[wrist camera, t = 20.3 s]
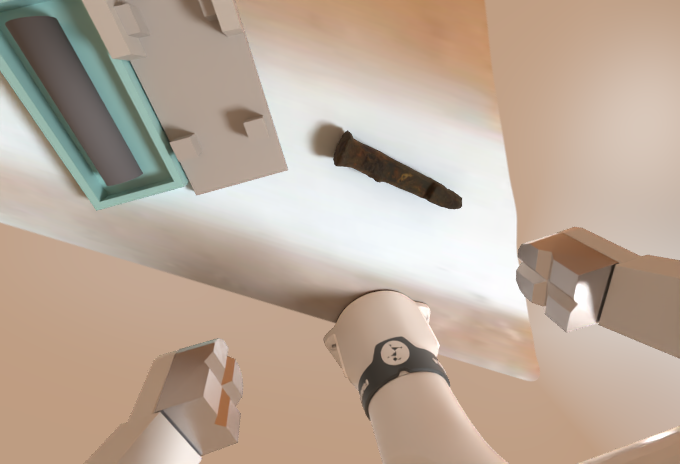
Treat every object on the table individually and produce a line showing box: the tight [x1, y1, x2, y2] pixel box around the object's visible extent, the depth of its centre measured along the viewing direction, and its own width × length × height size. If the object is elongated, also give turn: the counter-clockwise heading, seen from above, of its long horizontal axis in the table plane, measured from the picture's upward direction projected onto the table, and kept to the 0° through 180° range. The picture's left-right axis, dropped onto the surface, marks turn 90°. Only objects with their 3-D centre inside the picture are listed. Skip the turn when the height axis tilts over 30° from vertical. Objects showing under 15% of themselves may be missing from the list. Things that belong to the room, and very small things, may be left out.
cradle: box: [82, 0, 288, 195], centre depth 29 cm, size 22×11×5 cm, turn 13°
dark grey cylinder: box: [5, 16, 143, 186], centre depth 29 cm, size 14×4×4 cm, turn 12°
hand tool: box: [333, 131, 462, 209], centre depth 39 cm, size 19×4×5 cm, turn 61°
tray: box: [0, 0, 189, 211], centre depth 29 cm, size 19×10×3 cm, turn 13°
